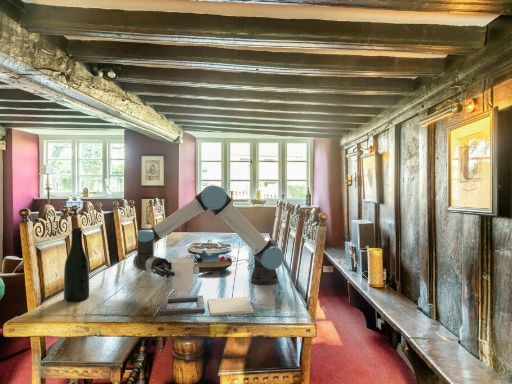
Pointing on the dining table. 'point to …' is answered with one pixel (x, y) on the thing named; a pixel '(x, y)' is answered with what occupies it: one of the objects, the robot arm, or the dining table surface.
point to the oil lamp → (211, 265)
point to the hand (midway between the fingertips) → (189, 272)
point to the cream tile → (230, 306)
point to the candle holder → (183, 273)
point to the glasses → (228, 259)
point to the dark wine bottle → (76, 270)
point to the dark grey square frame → (182, 310)
